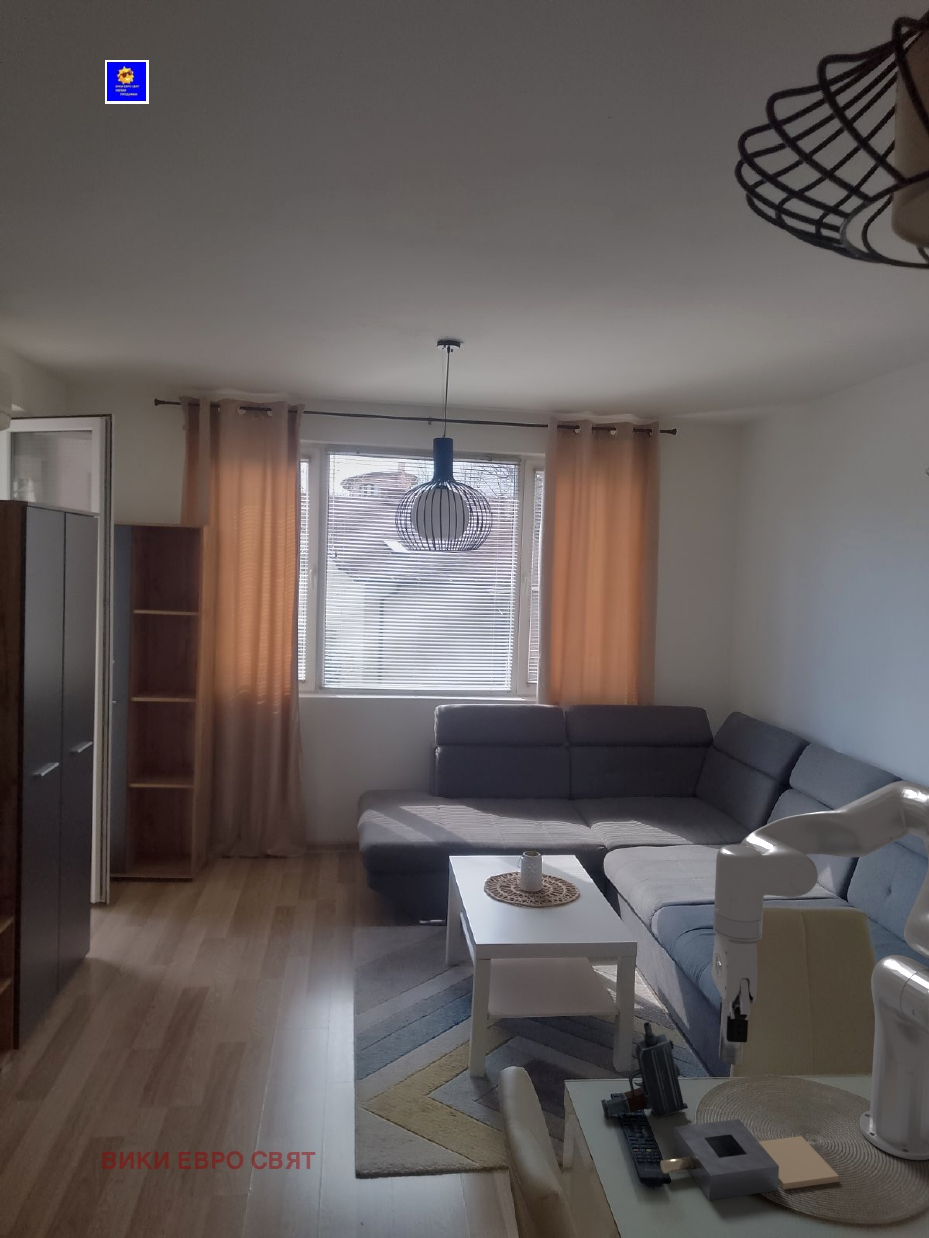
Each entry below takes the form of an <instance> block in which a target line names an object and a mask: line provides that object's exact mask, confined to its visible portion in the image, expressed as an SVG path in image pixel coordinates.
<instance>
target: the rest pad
mask: <svg viewBox="0 0 929 1238" xmlns="http://www.w3.org/2000/svg"><path fill="white" fill-rule="evenodd" d="M758 1142H759V1143H760V1144H761V1146H762V1147H763V1148H764V1149H765V1150H766V1151H767V1153H768V1154H769V1155H770V1156H771V1157H772V1159H773V1160H774V1161H775V1162H776V1163H777V1164H778V1166H779V1177H778V1186H780V1187H781V1189H782V1190H789V1189H798V1188H805V1187H810V1186H812V1187H813V1186H817V1185H826V1184H832V1183H833V1184H834V1183H838V1182H839V1178H840V1175H839V1174H838V1173H837V1172H836V1171H835V1170H834V1169H833V1168H832V1166H830V1165H829V1164H828V1162H826V1160H825V1159H824V1158H823V1157H822V1156H821V1155H820V1154H819V1153H818V1152H817V1150H815V1149H814V1148H813V1146H811V1145H810V1144H809V1142H808V1141H807V1140H806V1139H805V1138H804V1137H803V1136H802V1135H801V1136H792V1137H784V1138H777V1139H768V1140H760V1141H758Z"/></svg>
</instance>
